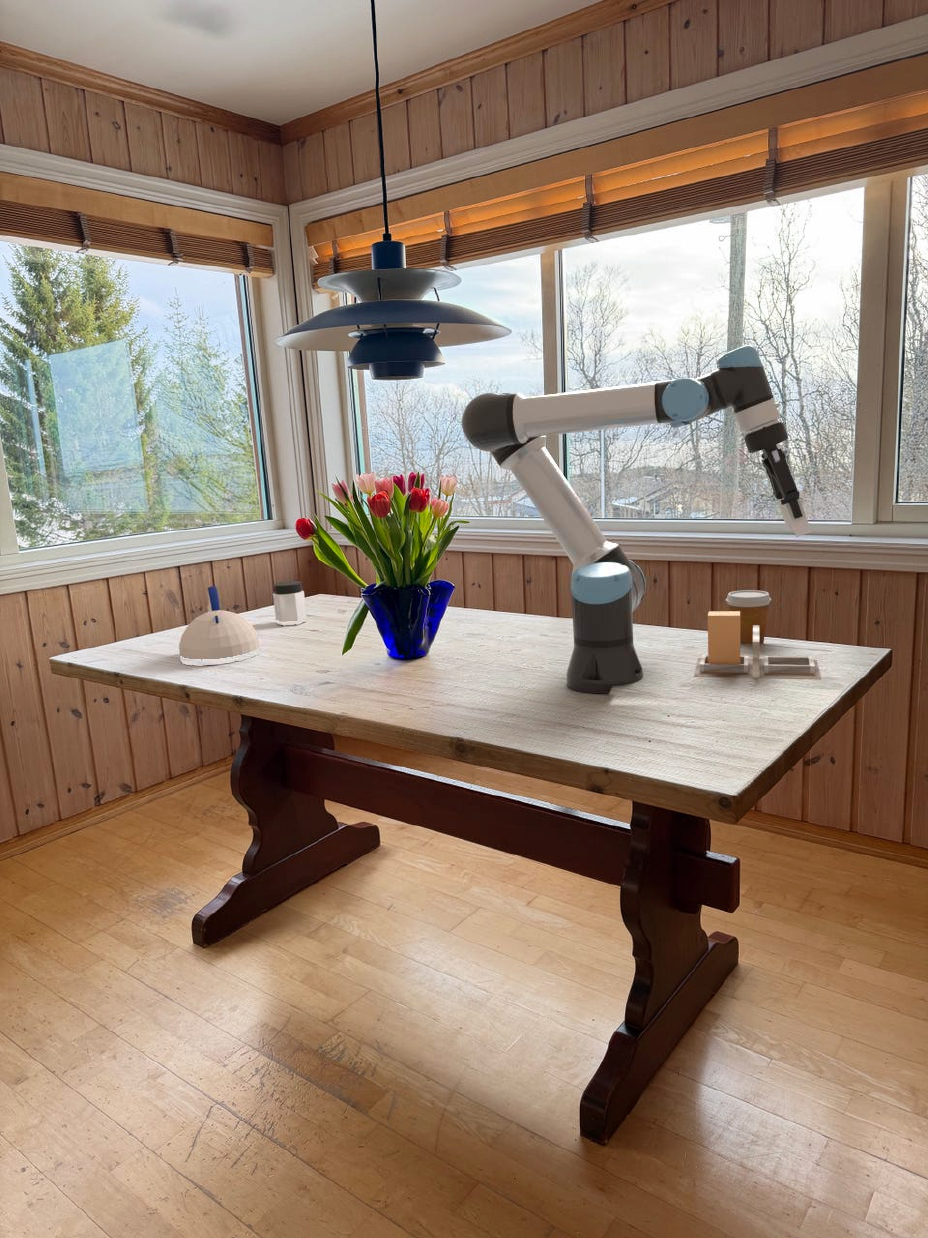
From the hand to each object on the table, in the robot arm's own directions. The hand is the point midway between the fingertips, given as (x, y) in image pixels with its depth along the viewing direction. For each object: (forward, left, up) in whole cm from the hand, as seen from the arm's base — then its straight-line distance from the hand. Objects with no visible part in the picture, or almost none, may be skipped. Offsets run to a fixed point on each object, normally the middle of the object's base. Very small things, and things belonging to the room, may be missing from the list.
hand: (799, 531), depth 167 cm
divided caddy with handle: (-9, +1, -28) cm, 29 cm away
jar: (-89, +113, -28) cm, 147 cm away
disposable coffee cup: (+3, +21, -28) cm, 35 cm away
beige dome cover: (-110, +82, -28) cm, 140 cm away
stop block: (-14, +4, -26) cm, 30 cm away
